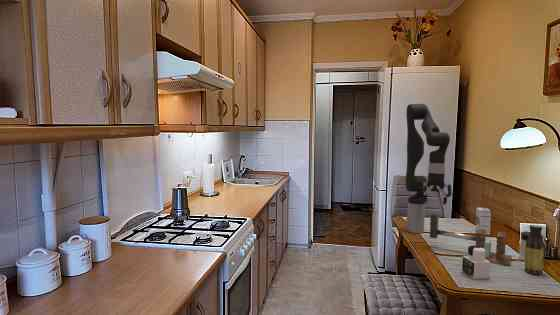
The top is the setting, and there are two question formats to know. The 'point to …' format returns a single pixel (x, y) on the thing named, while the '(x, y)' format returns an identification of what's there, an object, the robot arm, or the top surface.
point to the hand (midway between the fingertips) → (435, 203)
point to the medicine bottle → (476, 263)
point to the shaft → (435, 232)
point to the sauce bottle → (534, 251)
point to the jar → (524, 244)
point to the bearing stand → (500, 248)
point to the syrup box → (483, 219)
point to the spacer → (487, 247)
